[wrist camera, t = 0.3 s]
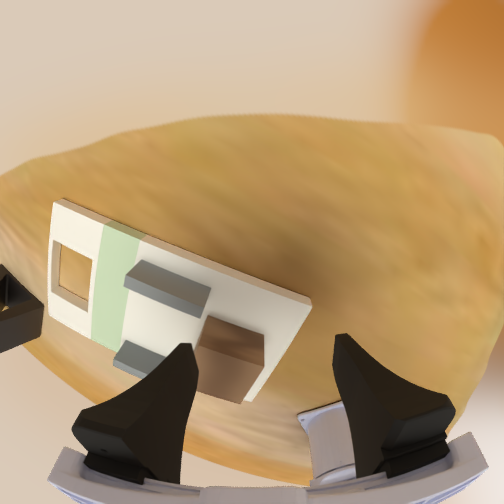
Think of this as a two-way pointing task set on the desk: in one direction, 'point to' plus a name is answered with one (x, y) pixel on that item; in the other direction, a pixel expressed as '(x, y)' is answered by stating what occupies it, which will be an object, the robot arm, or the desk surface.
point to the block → (228, 359)
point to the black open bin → (17, 312)
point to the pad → (113, 282)
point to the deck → (170, 297)
